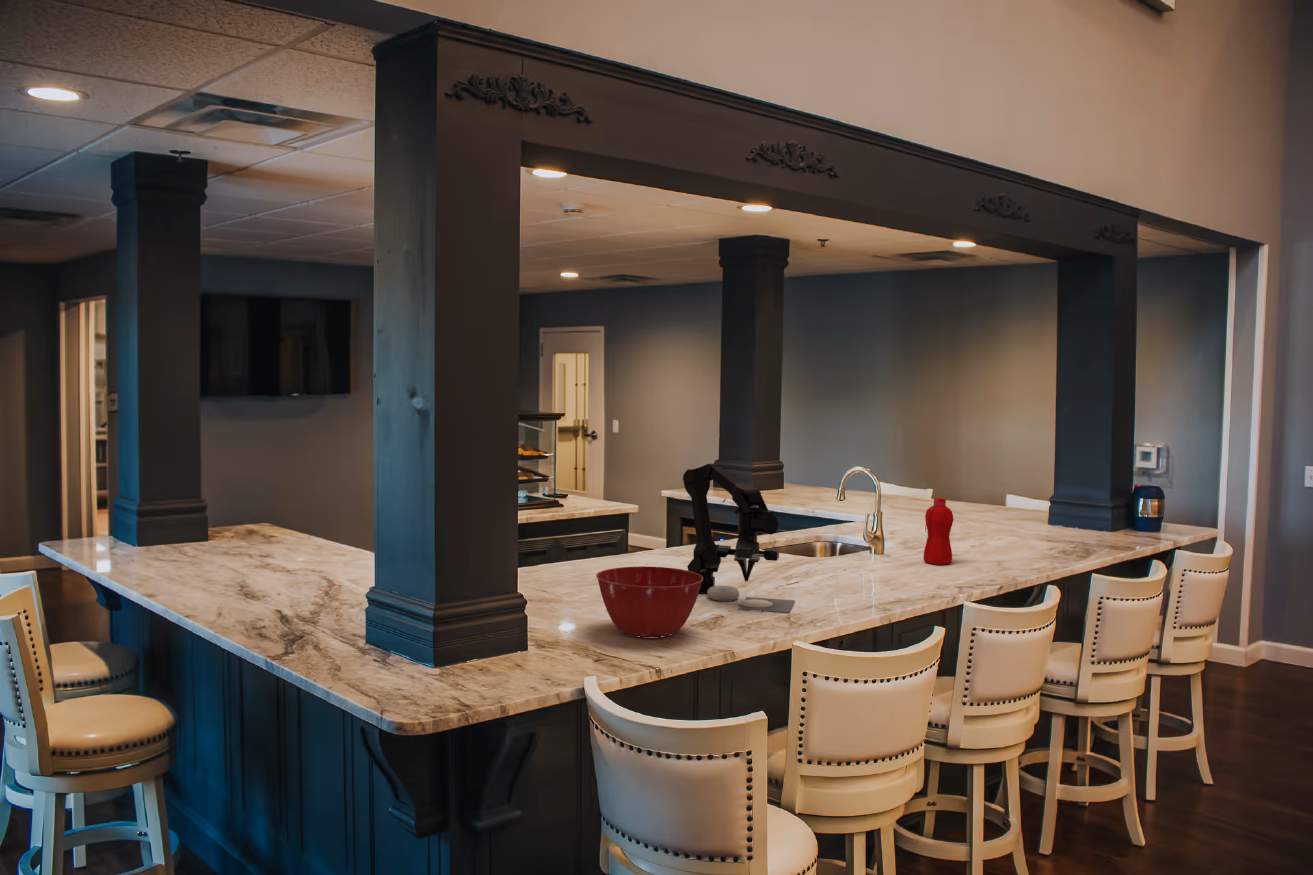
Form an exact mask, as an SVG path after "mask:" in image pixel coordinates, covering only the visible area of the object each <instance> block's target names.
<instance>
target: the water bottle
mask: <svg viewBox="0 0 1313 875" xmlns="http://www.w3.org/2000/svg"><path fill="white" fill-rule="evenodd" d="M946 503H947V498H945V497H934V498H933V505H932V506H930V507H928V508H927V509H926V511H925V516H924V519H925V527H924V528H925V533H926V534H927V538H926V542H925V545H924V550H923V557H922V558H923V561H924V562H925V563H926V564H929V563H930V565H932V566H933V565H934V566H944V565H945V566H946V565H947V564H948V565H950V564H952V561H953V551H952V546H951V545H952V544H951V540H950V534H951V530H952V527H953V524H954V516H953V515H954V514H953V511H952V510H951V508H949V507H948V506H947V504H946Z"/></svg>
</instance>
